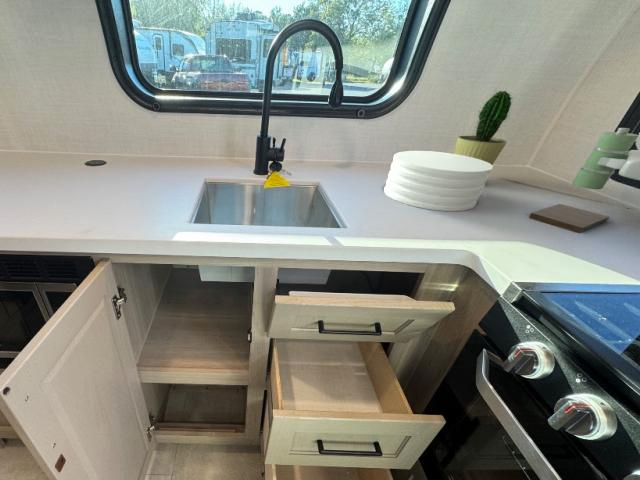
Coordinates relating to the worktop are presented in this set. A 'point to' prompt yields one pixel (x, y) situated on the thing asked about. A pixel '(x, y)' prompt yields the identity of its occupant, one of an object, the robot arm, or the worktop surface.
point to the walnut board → (569, 217)
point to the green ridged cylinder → (606, 147)
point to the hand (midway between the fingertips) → (600, 158)
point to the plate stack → (436, 180)
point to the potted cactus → (487, 130)
